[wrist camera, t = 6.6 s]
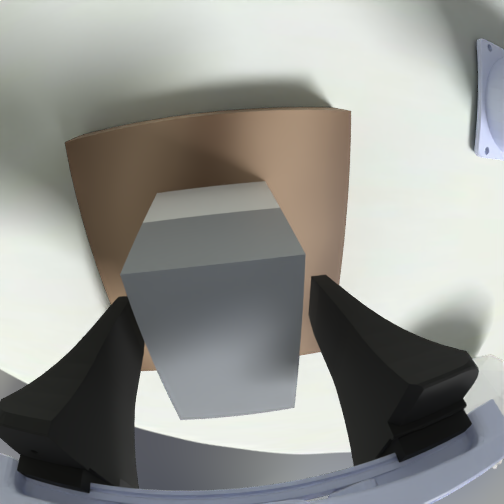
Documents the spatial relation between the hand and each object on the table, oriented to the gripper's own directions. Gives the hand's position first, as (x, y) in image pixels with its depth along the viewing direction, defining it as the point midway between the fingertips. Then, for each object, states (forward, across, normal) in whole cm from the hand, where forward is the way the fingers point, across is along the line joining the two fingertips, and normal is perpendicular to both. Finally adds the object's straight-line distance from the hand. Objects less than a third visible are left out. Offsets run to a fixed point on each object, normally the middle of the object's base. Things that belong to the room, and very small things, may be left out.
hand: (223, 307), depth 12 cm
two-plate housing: (+3, 0, -1) cm, 3 cm away
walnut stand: (+5, 0, 0) cm, 5 cm away
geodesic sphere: (+5, -24, +20) cm, 32 cm away
